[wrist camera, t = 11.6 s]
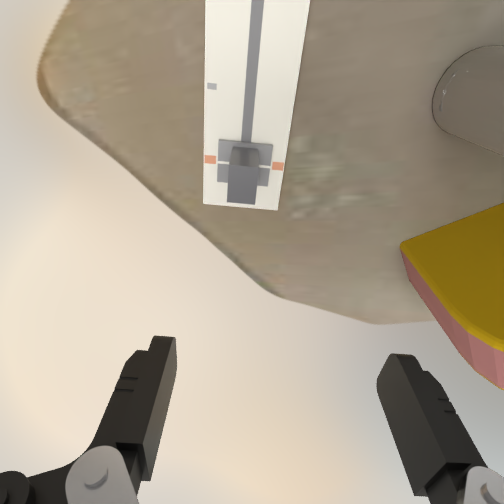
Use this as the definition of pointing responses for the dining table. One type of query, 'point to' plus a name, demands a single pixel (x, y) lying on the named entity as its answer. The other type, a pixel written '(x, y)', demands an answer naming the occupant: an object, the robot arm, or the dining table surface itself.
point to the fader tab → (243, 168)
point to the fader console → (251, 85)
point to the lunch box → (465, 285)
